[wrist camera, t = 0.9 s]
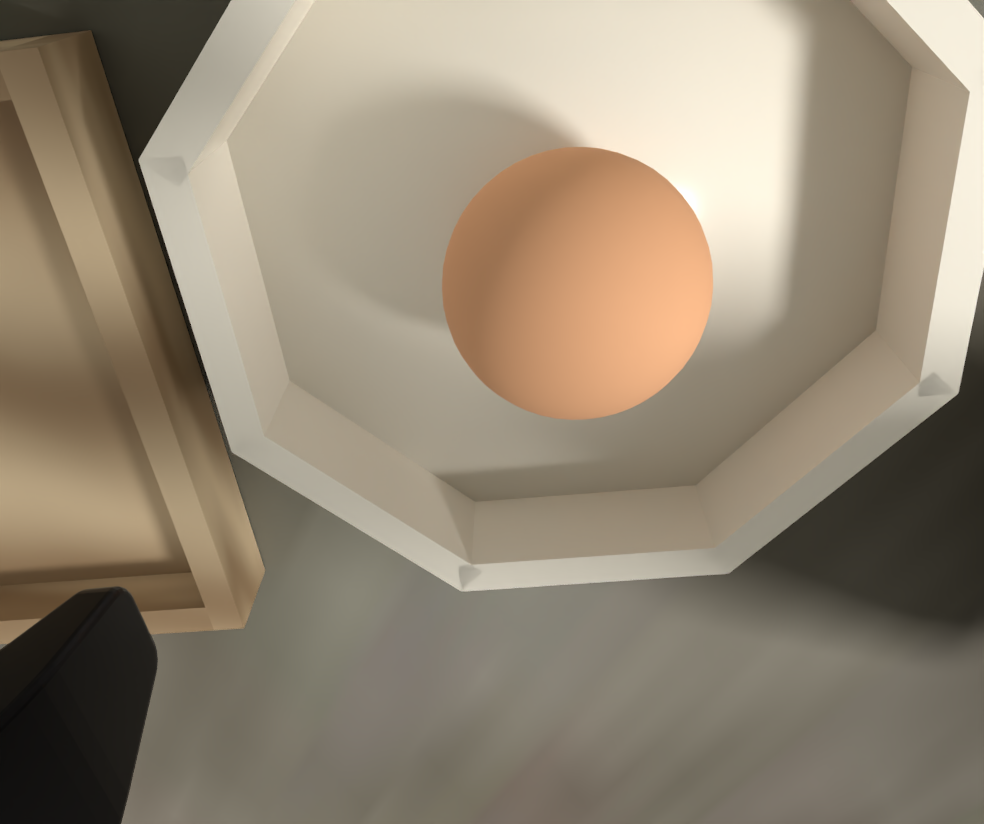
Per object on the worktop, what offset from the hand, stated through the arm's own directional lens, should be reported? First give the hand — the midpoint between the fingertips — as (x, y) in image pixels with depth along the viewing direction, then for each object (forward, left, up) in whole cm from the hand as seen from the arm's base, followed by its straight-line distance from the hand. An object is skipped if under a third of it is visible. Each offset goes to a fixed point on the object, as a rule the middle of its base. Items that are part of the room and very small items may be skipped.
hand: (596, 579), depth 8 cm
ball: (-1, 0, -11) cm, 11 cm away
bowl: (-1, 0, -12) cm, 12 cm away
